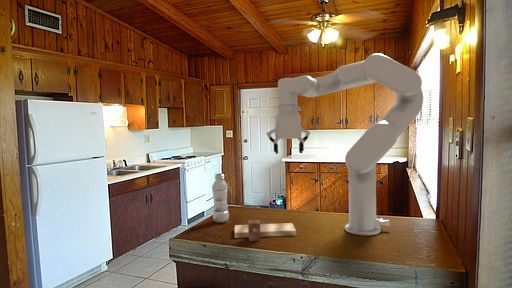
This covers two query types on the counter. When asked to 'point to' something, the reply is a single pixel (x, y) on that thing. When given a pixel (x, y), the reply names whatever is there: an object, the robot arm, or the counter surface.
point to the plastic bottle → (220, 199)
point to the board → (267, 230)
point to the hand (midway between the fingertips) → (288, 153)
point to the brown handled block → (254, 230)
